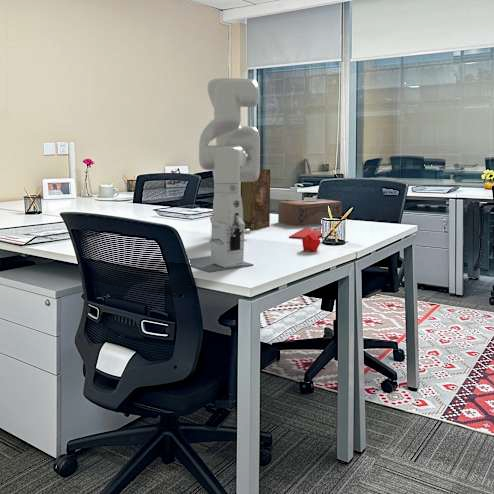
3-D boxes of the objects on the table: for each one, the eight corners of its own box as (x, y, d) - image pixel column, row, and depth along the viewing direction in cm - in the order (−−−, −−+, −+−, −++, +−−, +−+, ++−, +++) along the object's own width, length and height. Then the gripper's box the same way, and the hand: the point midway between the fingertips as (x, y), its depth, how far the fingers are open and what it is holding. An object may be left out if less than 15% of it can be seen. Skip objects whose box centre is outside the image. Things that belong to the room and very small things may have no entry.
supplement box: (210, 263, 175) (210, 222, 172) (230, 260, 179) (230, 220, 176) (224, 268, 169) (224, 225, 166) (244, 265, 173) (245, 223, 171)
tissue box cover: (296, 227, 256) (297, 204, 254) (278, 223, 268) (278, 201, 266) (341, 223, 269) (341, 201, 268) (321, 219, 281) (322, 199, 280)
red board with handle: (343, 230, 247) (309, 228, 253) (343, 223, 247) (309, 222, 252) (326, 242, 220) (288, 240, 225) (326, 234, 219) (288, 233, 225)
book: (260, 225, 259) (261, 169, 255) (271, 226, 256) (271, 169, 252) (240, 229, 246) (240, 170, 241) (250, 230, 243) (251, 170, 238)
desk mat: (220, 255, 189) (220, 254, 189) (253, 265, 175) (253, 264, 175) (177, 261, 180) (177, 260, 180) (209, 272, 165) (209, 270, 165)
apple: (309, 232, 204) (300, 227, 197) (326, 238, 201) (317, 233, 194) (302, 251, 204) (293, 246, 197) (319, 256, 200) (310, 252, 194)
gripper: (255, 190, 165) (254, 250, 168) (220, 186, 179) (220, 242, 182) (233, 192, 161) (233, 253, 164) (200, 187, 174) (200, 244, 178)
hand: (226, 247), depth 173 cm, fingers open, 8 cm apart
